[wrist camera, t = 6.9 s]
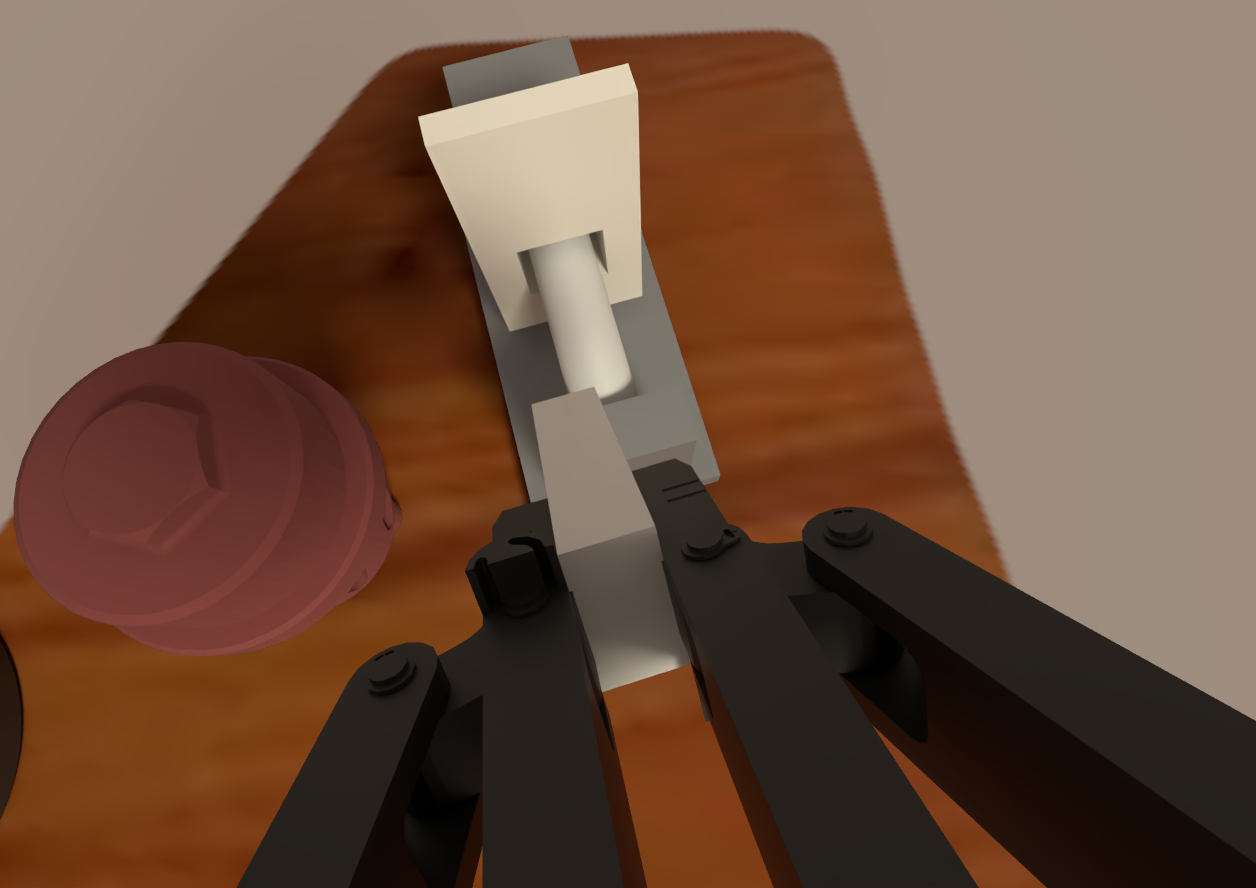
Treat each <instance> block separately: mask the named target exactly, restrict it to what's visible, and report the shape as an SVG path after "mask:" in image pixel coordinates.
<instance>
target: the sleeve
mask: <svg viewBox="0 0 1256 888" xmlns="http://www.w3.org/2000/svg"><path fill="white" fill-rule="evenodd" d="M418 119H419V123H420V127H421V131H422V136H423V140H424V144H425V147H426V150H427V152H428V154H429V156H430V158H431V160H432V163H433V165H434V167H435V169H436V171H437V174H438V176H439V178H440V180H441V182H442V185H443V187H444V189H445V191H446V193H447V195H448V198H449V200H450V202H451V204H452V206H453V209H454V211H455V213H456V215H457V217H458V220H459V222H460V224H461V226H462V228H463V230H464V233H465V235H466V237H467V239H468V241H469V244H470V246H471V248H472V250H473V252H474V255H475V257H476V259H477V261H478V263H479V265H480V268H481V270H482V272H483V274H484V276H485V279H486V281H487V283H488V285H489V287H490V290H491V292H492V294H493V296H494V298H495V300H496V303H497V305H498V307H499V309H500V311H501V314H502V316H503V318H504V320H505V322H506V324H507V327H508V329H509V331H514V330H518V329H522V328H525V327H529V326H533V325H536V324H540V323H544V322H547V321H548V320H547V316H546V313H545V309H544V306H543V302H542V298H541V295H540V291H539V287H538V284H537V280H536V276H535V273H534V269H533V265H532V262H531V258H530V254H529V251H528V249H532V248H536V247H540V246H543V245H547V244H551V243H555V242H558V241H562V240H566V239H570V238H574V237H577V236H581V235H585V234H589V235H590V239H591V242H592V245H593V249H594V252H595V255H596V259H597V262H598V265H599V269H600V272H601V275H602V279H603V282H604V285H605V288H606V292H607V295H608V298H609V302H610V305H611V304H614V303H618V302H622V301H625V300H629V299H633V298H636V297H640V296H642V258H641V213H640V169H639V124H638V91H637V88H636V85H635V82H634V80H633V77H632V74H631V71H630V68H629V65H628V63H627V64H624V65H620V66H616V67H612V68H608V69H604V70H600V71H596V72H592V73H588V74H584V75H580V76H576V77H572V78H569V79H565V80H561V81H557V82H553V83H549V84H545V85H541V86H537V87H533V88H529V89H525V90H521V91H518V92H514V93H510V94H506V95H502V96H498V97H494V98H490V99H486V100H482V101H478V102H474V103H470V104H466V105H463V106H459V107H455V108H451V109H447V110H443V111H439V112H435V113H431V114H427V115H423V116H419V117H418Z"/></svg>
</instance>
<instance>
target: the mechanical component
mask: <svg viewBox="0 0 1256 888" xmlns="http://www.w3.org/2000/svg"><path fill="white" fill-rule="evenodd" d="M401 520H402V511H401V509H400V507H399V506H398V504H397V503H395V502H394V501H392V497H391V493H390V491H389V489H388V487H387V484H386V477H385V468H384V464H383V459H382V455H381V451H380V448H379V446H378V443H377V441H376V439H375V436H374V434H373V432H372V430H371V429H370V427H369V425H368V424H367V422H366V420H365V419H364V417H363V416H362V415H361V414H360V412H359V411H358V410H357V409H356V408H355V406H354V405H353V404H352V403H351V402H350V401H348V400H347V399H346V398H345V397H344V396H343V395H341V394H340V393H339V392H338V391H337V390H335V389H334V388H333V387H332V386H331V385H329V384H328V383H326V382H325V381H324V380H322V379H321V378H319V377H318V376H316V375H315V374H313V373H311V372H309V371H307V370H305V369H303V368H301V367H299V366H297V365H294V364H290V363H287V362H284V361H281V360H277V359H271V358H265V357H252V356H243V355H241V354H240V353H237V352H234V351H232V350H229V349H226V348H224V347H221V346H216V345H211V344H206V343H200V342H172V343H163V344H156V345H152V346H148V347H144V348H141V349H137V350H134V351H132V352H129V353H127V354H124V355H122V356H119V357H117V358H114V359H113V360H111V361H109V362H107V363H106V364H104V365H102V366H100V367H98V368H97V369H95V370H93V371H92V372H91V373H89V374H88V375H87V376H85V377H84V378H83V379H81V380H80V381H79V382H77V383H76V384H75V385H74V386H73V387H72V388H71V389H70V390H69V391H68V392H67V393H66V394H65V395H63V396H62V397H61V398H60V399H59V401H58V402H57V403H56V404H55V405H54V407H53V408H52V409H51V410H50V412H49V413H48V414H47V415H46V416H45V418H44V419H43V421H42V422H41V424H40V426H39V427H38V429H37V431H36V432H35V434H34V436H33V437H32V439H31V441H30V444H29V446H28V448H27V450H26V453H25V455H24V457H23V460H22V463H21V467H20V470H19V474H18V477H17V481H16V488H15V496H14V526H15V531H16V536H17V541H18V545H19V548H20V551H21V553H22V556H23V558H24V561H25V563H26V566H27V567H28V569H29V570H30V572H31V573H32V575H33V577H34V578H35V580H36V581H37V583H38V584H39V585H40V586H41V587H42V588H43V589H44V590H45V591H46V592H47V593H48V594H49V595H50V596H51V597H52V598H53V599H54V600H55V601H57V602H58V603H59V604H61V605H62V606H64V607H65V608H67V609H68V610H70V611H71V612H74V613H76V614H78V615H80V616H83V617H85V618H87V619H90V620H93V621H97V622H101V623H106V624H110V625H114V626H115V627H116V628H118V629H119V630H120V631H121V632H122V633H124V634H126V635H127V636H129V637H131V638H132V639H134V640H136V641H138V642H139V643H141V644H144V645H147V646H149V647H152V648H155V649H157V650H160V651H164V652H169V653H174V654H180V655H195V656H213V655H234V654H241V653H246V652H252V651H257V650H260V649H264V648H267V647H270V646H273V645H276V644H279V643H281V642H283V641H285V640H287V639H289V638H291V637H293V636H295V635H297V634H299V633H301V632H302V631H304V630H305V629H307V628H308V627H310V626H311V625H313V624H314V623H316V622H318V621H319V620H320V619H321V618H322V617H323V616H325V615H326V614H327V613H328V612H329V611H330V610H332V609H333V608H334V607H335V606H337V605H339V604H341V603H343V602H344V601H346V600H348V599H349V598H351V597H353V596H354V595H356V594H357V593H358V592H359V591H360V590H361V589H363V588H364V587H365V586H366V585H367V584H368V583H369V582H370V580H371V579H372V578H373V577H374V576H375V575H376V573H377V572H378V570H379V569H380V567H381V565H382V564H383V562H384V561H385V558H386V556H387V554H388V551H389V549H390V546H391V542H392V538H393V534H394V532H395V531H396V530H397V529H398V527H399V526H400V524H401Z"/></svg>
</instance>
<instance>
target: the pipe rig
mask: <svg viewBox="0 0 1256 888" xmlns="http://www.w3.org/2000/svg"><path fill="white" fill-rule="evenodd" d="M443 71H444V75H445V79H446V83H447V87H448V91H449V95H450V98H451V102H452V106H453V108H455V107H459V106H463V105H466V104H470V103H474V102H478V101H482V100H486V99H490V98H494V97H498V96H502V95H506V94H510V93H514V92H518V91H521V90H525V89H529V88H533V87H537V86H541V85H545V84H549V83H553V82H557V81H561V80H565V79H569V78H572V77H576V76H580V72H579V69H578V66H577V63H576V60H575V57H574V54H573V51H572V47H571V44H570V41H569V38H568V36H563V37H559V38H555V39H551V40H547V41H543V42H539V43H535V44H531V45H527V46H523V47H520V48H516V49H512V50H508V51H504V52H500V53H496V54H492V55H488V56H484V57H480V58H476V59H472V60H468V61H464V62H460V63H456V64H452V65H448V66H444V67H443ZM464 234H465V233H464ZM465 238H466V242H467V246H468V250H469V254H470V258H471V262H472V266H473V270H474V275H475V279H476V283H477V287H478V291H479V295H480V299H481V303H482V307H483V311H484V315H485V319H486V323H487V327H488V331H489V335H490V339H491V343H492V347H493V351H494V355H495V359H496V363H497V367H498V372H499V376H500V380H501V384H502V388H503V392H504V396H505V400H506V404H507V408H508V412H509V416H510V420H511V424H512V428H513V432H514V436H515V440H516V444H517V448H518V452H519V456H520V460H521V465H522V469H523V473H524V477H525V481H526V485H527V489H528V493H529V497H530V501H531V503H532V502H536V501H539V500H542V499H546V498H547V492H546V486H545V480H544V475H543V469H542V463H541V457H540V451H539V446H538V440H537V434H536V428H535V422H534V417H533V411H532V405H531V404H535V403H538V402H542V401H545V400H549V399H552V398H556V397H559V396H563V395H566V394H570V393H573V392H577V391H580V390H584V389H587V388H591V387H594V388H595V390H596V392H597V394H598V397H599V399H600V401H601V404H602V406H603V408H604V410H605V413H606V415H607V417H608V420H609V422H610V424H611V426H612V429H613V431H614V433H615V435H616V438H617V440H618V442H619V445H620V447H621V449H622V451H623V454H624V456H625V458H626V460H627V463H628V465H629V467H630V470H631V471H634V470H637V469H640V468H644V467H647V466H651V465H654V464H657V463H661V462H664V461H667V460H671V459H674V458H675V459H677V460H679V461H681V462H684V463H686V464H688V465H690V466H692V468H693V469H694V471H695V473H696V474H697V476H698V477H699V479H700V481H701V482H702V484H703V485H706V484H709V483H713V482H716V481H718V479H719V477H720V472H719V469H718V466H717V463H716V460H715V457H714V454H713V451H712V448H711V444H710V441H709V438H708V435H707V432H706V429H705V426H704V423H703V420H702V417H701V414H700V411H699V407H698V404H697V401H696V398H695V395H694V392H693V389H692V386H691V383H690V380H689V377H688V374H687V370H686V367H685V364H684V361H683V358H682V355H681V352H680V349H679V346H678V343H677V340H676V336H675V333H674V330H673V327H672V324H671V321H670V318H669V315H668V312H667V309H666V306H665V303H664V299H663V296H662V293H661V290H660V287H659V284H658V281H657V278H656V275H655V272H654V269H653V266H652V262H651V259H650V256H649V253H648V250H647V247H646V244H645V241H644V238H643V235H642V232H641V258H642V296H640V297H636V298H633V299H629V300H625V301H622V302H618V303H614V304H611V305H610V302H609V298H608V295H607V292H606V288H605V285H604V282H603V279H602V275H601V272H600V269H599V265H598V262H597V259H596V255H595V252H594V249H593V245H592V242H591V239H590V235H589V234H585V235H581V236H577V237H574V238H570V239H566V240H562V241H558V242H555V243H551V244H547V245H543V246H540V247H536V248H532V249H528V251H529V254H530V258H531V262H532V265H533V269H534V273H535V276H536V280H537V284H538V287H539V291H540V295H541V298H542V302H543V306H544V309H545V313H546V316H547V320H548V321H547V322H544V323H540V324H536V325H533V326H529V327H525V328H522V329H518V330H514V331H509V329H508V327H507V324H506V322H505V320H504V318H503V316H502V314H501V311H500V309H499V307H498V305H497V303H496V300H495V298H494V296H493V294H492V292H491V290H490V287H489V285H488V283H487V281H486V279H485V276H484V274H483V272H482V270H481V268H480V265H479V263H478V261H477V259H476V257H475V255H474V252H473V250H472V248H471V246H470V244H469V241H468V239H467V237H466V235H465Z"/></svg>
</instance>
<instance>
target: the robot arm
mask: <svg viewBox="0 0 1256 888" xmlns="http://www.w3.org/2000/svg"><path fill="white" fill-rule="evenodd" d="M531 405H532V411H533V417H534V422H535V428H536V434H537V440H538V446H539V451H540V457H541V463H542V469H543V475H544V480H545V486H546V492H547V498H546V499H542V500H539V501H536V502H532V503H529V504H525V505H522V506H519V507H515V508H512V509H509V510H505V511H502V513H501V515H500V516H499V518H498V519H497V521H496V523H495V524H494V526H493V527H492V530H493V541H492V542H491V543H489V544H488V545H486V546H484V547H483V548H481V549H480V550H478V551H477V553H476V554H475V555H474V556H473V557H472V558H471V559H470V560H469V562H468V565H467V568H466V570H465V572H466V574H467V577H468V579H469V582H470V584H471V587H472V589H473V592H474V594H475V597H476V599H477V602H478V604H479V607H480V609H481V612H482V614H483V626H482V627H481V629H480V630H478V631H477V632H476V633H475V634H474V635H473V636H471V637H470V638H469V639H467V640H465V641H464V642H462V643H461V644H459V645H457V646H456V647H454V648H452V649H450V650H448V651H446V652H445V653H443V654H441V655H439V656H437V654H436V652H435V650H434V648H433V647H431V646H429V645H427V644H424V643H404V644H401V645H397V646H394V647H390V648H388V649H386V650H384V651H383V652H380V653H378V654H377V655H375V656H373V657H372V658H371V659H369V660H368V661H367V662H366V663H365V664H363V665H362V666H361V667H360V668H358V670H357V671H356V672H355V674H354V675H353V676H352V678H351V679H350V680H349V682H348V683H347V685H346V687H345V689H344V691H343V693H342V694H341V696H340V698H339V700H338V702H337V704H336V706H335V707H334V709H333V711H332V713H331V715H330V717H329V718H328V720H327V722H326V724H325V726H324V728H323V730H322V731H321V733H320V735H319V737H318V739H317V741H316V742H315V744H314V746H313V748H312V750H311V752H310V754H309V755H308V757H307V759H306V761H305V763H304V765H303V766H302V768H301V770H300V772H299V774H298V776H297V778H296V779H295V781H294V783H293V785H292V787H291V789H290V790H289V792H288V794H287V796H286V798H285V800H284V802H283V803H282V805H281V807H280V809H279V811H278V813H277V814H276V816H275V818H274V820H273V822H272V824H271V826H270V827H269V829H268V831H267V833H266V835H265V837H264V838H263V840H262V842H261V844H260V846H259V848H258V850H257V851H256V853H255V855H254V857H253V859H252V861H251V862H250V864H249V866H248V868H247V870H246V872H245V874H244V875H243V877H242V879H241V881H240V883H239V885H238V886H237V888H472V887H473V882H474V878H475V874H476V870H477V866H478V862H479V858H480V854H481V850H482V846H483V888H647V884H646V880H645V875H644V871H643V866H642V862H641V857H640V853H639V848H638V843H637V839H636V834H635V830H634V825H633V821H632V816H631V811H630V807H629V802H628V798H627V793H626V789H625V784H624V779H623V775H622V770H621V766H620V761H619V757H618V752H617V748H616V743H615V738H614V734H613V729H612V725H611V720H610V716H609V712H608V709H607V706H606V703H605V700H604V697H603V694H602V692H604V691H607V690H610V689H613V688H616V687H619V686H622V685H626V684H629V683H632V682H635V681H638V680H641V679H644V678H648V677H651V676H654V675H657V674H660V673H663V672H666V671H670V670H673V669H676V668H679V667H682V666H685V665H688V664H690V662H689V659H690V661H691V665H692V669H693V673H694V677H695V681H696V685H697V689H698V693H699V697H700V701H701V705H702V709H703V713H704V717H705V721H709V720H710V722H711V725H712V727H713V730H714V732H715V735H716V738H717V740H718V743H719V746H720V748H721V751H722V753H723V756H724V759H725V761H726V764H727V767H728V769H729V772H730V774H731V777H732V780H733V782H734V785H735V787H736V790H737V793H738V795H739V798H740V801H741V803H742V806H743V808H744V811H745V814H746V816H747V819H748V821H749V824H750V827H751V829H752V832H753V835H754V837H755V840H756V842H757V845H758V848H759V850H760V853H761V855H762V858H763V861H764V863H765V866H766V869H767V871H768V874H769V876H770V879H771V882H772V884H773V887H774V888H979V887H978V886H977V884H976V883H975V881H974V880H973V878H972V877H971V875H970V874H969V872H968V871H967V869H966V868H965V866H964V864H963V863H962V861H961V860H960V858H959V857H958V855H957V854H956V852H955V851H954V849H953V848H952V846H951V845H950V843H949V842H948V840H947V839H946V837H945V836H944V834H943V832H942V831H941V829H940V828H939V826H938V825H937V823H936V822H935V820H934V819H933V817H932V816H931V814H930V813H929V811H928V810H927V808H926V807H925V805H924V804H923V802H922V800H921V799H920V797H919V796H918V794H917V793H916V791H915V790H914V788H913V787H912V785H911V784H910V782H909V781H908V779H907V778H906V776H905V775H904V773H903V771H902V770H901V768H900V767H899V765H898V764H897V762H896V761H895V759H894V758H893V756H892V755H891V753H890V752H889V750H888V749H887V747H886V746H885V744H884V743H883V741H882V739H881V738H880V736H879V735H878V733H877V732H876V730H875V729H874V727H875V728H876V729H877V730H878V731H879V732H881V733H882V734H883V735H884V736H885V737H886V738H887V739H888V740H889V741H890V742H891V743H892V744H893V745H894V746H896V747H897V748H898V749H899V750H900V751H901V752H902V753H903V754H904V755H905V756H906V757H907V758H908V759H909V760H911V761H912V762H913V763H914V764H915V765H916V766H917V767H918V768H919V769H920V770H921V771H922V772H923V773H924V774H926V775H927V776H928V777H929V778H930V779H931V780H932V781H933V782H934V783H935V784H936V785H937V786H938V787H940V788H941V789H942V790H943V791H944V792H945V793H946V794H947V795H948V796H949V797H950V798H951V799H952V800H953V801H955V802H956V803H957V804H958V805H959V806H960V807H961V808H962V809H963V810H964V811H965V812H966V813H967V814H968V815H970V816H971V817H972V818H973V819H974V820H975V821H976V822H977V823H978V824H979V825H980V826H981V827H982V828H983V829H985V830H986V831H987V832H988V833H989V834H990V835H991V836H992V837H993V838H994V839H995V840H996V841H997V842H998V843H1000V844H1001V845H1002V846H1003V847H1004V848H1005V849H1006V850H1007V851H1008V852H1009V853H1010V854H1011V855H1012V856H1013V857H1015V858H1016V859H1017V860H1018V861H1019V862H1020V863H1021V864H1022V865H1023V866H1024V867H1025V868H1026V869H1027V870H1029V871H1030V872H1031V873H1032V874H1033V875H1034V876H1035V877H1036V878H1037V879H1038V880H1039V881H1040V882H1041V883H1042V884H1044V885H1045V886H1046V887H1047V888H1256V721H1255V720H1253V719H1251V718H1250V717H1247V716H1246V715H1244V714H1242V713H1240V712H1239V711H1237V710H1235V709H1233V708H1232V707H1230V706H1228V705H1226V704H1224V703H1223V702H1221V701H1219V700H1217V699H1215V698H1214V697H1212V696H1210V695H1208V694H1206V693H1205V692H1203V691H1201V690H1199V689H1197V688H1196V687H1194V686H1192V685H1190V684H1188V683H1187V682H1185V681H1183V680H1181V679H1179V678H1178V677H1176V676H1174V675H1172V674H1170V673H1168V672H1167V671H1165V670H1163V669H1161V668H1159V667H1158V666H1156V665H1154V664H1152V663H1151V662H1149V661H1147V660H1145V659H1143V658H1141V657H1140V656H1138V655H1136V654H1134V653H1132V652H1131V651H1129V650H1127V649H1125V648H1124V647H1122V646H1120V645H1118V644H1116V643H1115V642H1112V641H1111V640H1109V639H1107V638H1106V637H1104V636H1102V635H1100V634H1098V633H1097V632H1094V631H1093V630H1091V629H1089V628H1088V627H1086V626H1084V625H1082V624H1080V623H1079V622H1077V621H1075V620H1073V619H1071V618H1070V617H1068V616H1066V615H1064V614H1062V613H1060V612H1059V611H1057V610H1055V609H1053V608H1052V607H1050V606H1048V605H1046V604H1044V603H1042V602H1041V601H1039V600H1037V599H1035V598H1034V597H1031V596H1030V595H1028V594H1026V593H1024V592H1023V591H1021V590H1019V589H1017V588H1016V587H1014V586H1012V585H1010V584H1008V583H1007V582H1005V581H1003V580H1001V579H999V578H998V577H996V576H994V575H992V574H990V573H989V572H987V571H985V570H983V569H981V568H980V567H978V566H976V565H974V564H972V563H971V562H969V561H967V560H965V559H963V558H962V557H960V556H958V555H956V554H954V553H953V552H951V551H949V550H947V549H945V548H944V547H942V546H940V545H938V544H936V543H935V542H933V541H931V540H929V539H927V538H926V537H924V536H922V535H920V534H918V533H917V532H915V531H913V530H911V529H909V528H908V527H906V526H904V525H902V524H900V523H899V522H897V521H895V520H893V519H891V518H890V517H888V516H886V515H884V514H882V513H879V512H876V511H874V510H871V509H866V508H857V507H843V508H837V509H832V510H829V511H826V512H823V513H820V514H818V515H817V516H815V517H814V518H812V519H811V520H809V521H808V522H807V524H806V525H805V527H804V529H803V530H802V537H803V541H799V542H788V543H770V544H767V543H759V542H753V541H751V540H750V538H749V537H748V535H747V534H746V533H745V532H744V531H743V530H741V529H740V528H739V527H737V526H734V525H731V524H728V523H727V522H726V520H725V518H724V517H723V515H722V514H721V512H720V511H719V509H718V507H717V506H716V504H715V503H714V501H713V499H712V498H711V496H710V495H709V493H708V492H707V491H706V488H705V487H704V485H703V484H702V482H701V481H700V479H699V477H698V476H697V474H696V473H695V471H694V469H693V468H692V466H690V465H688V464H686V463H684V462H681V461H679V460H677V459H675V458H674V459H671V460H667V461H664V462H661V463H657V464H654V465H651V466H647V467H644V468H640V469H637V470H634V471H631V470H630V467H629V465H628V463H627V460H626V458H625V456H624V454H623V451H622V449H621V447H620V445H619V442H618V440H617V438H616V435H615V433H614V431H613V429H612V426H611V424H610V422H609V420H608V417H607V415H606V413H605V410H604V408H603V406H602V404H601V401H600V399H599V397H598V394H597V392H596V390H595V388H594V387H591V388H587V389H584V390H580V391H577V392H573V393H570V394H566V395H563V396H559V397H556V398H552V399H549V400H545V401H542V402H538V403H535V404H531ZM687 653H688V654H687ZM688 656H689V658H688ZM601 689H602V691H601ZM872 725H873V726H874V727H873V726H872ZM20 743H21V706H20V697H19V691H18V686H17V682H16V678H15V674H14V671H13V668H12V665H11V662H10V660H9V657H8V655H7V653H6V650H5V649H4V647H3V645H2V643H1V641H0V819H1V816H2V814H3V811H4V809H5V806H6V804H7V801H8V798H9V795H10V792H11V789H12V785H13V781H14V777H15V774H16V769H17V764H18V759H19V751H20Z"/></svg>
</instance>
